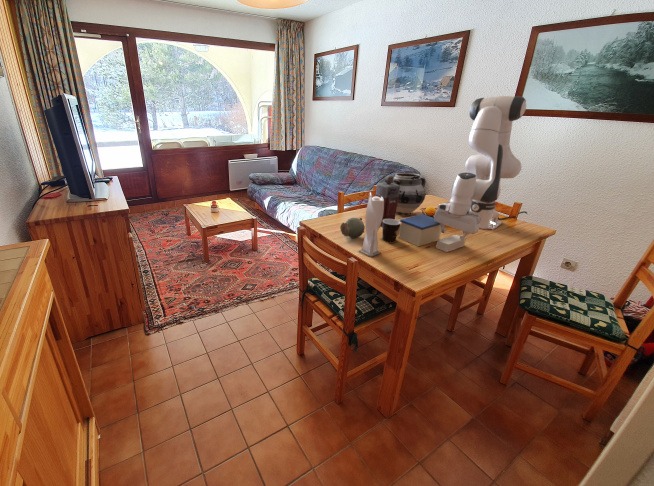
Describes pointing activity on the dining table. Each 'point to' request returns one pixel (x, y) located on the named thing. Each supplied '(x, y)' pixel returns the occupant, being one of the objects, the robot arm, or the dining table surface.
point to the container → (419, 230)
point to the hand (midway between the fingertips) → (452, 236)
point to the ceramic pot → (409, 192)
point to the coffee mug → (390, 230)
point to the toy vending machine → (388, 197)
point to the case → (450, 243)
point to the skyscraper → (372, 225)
